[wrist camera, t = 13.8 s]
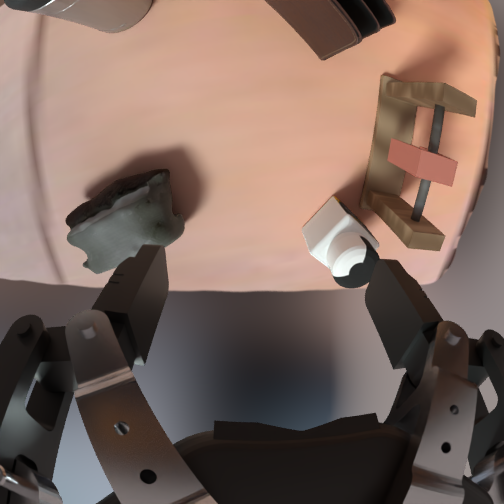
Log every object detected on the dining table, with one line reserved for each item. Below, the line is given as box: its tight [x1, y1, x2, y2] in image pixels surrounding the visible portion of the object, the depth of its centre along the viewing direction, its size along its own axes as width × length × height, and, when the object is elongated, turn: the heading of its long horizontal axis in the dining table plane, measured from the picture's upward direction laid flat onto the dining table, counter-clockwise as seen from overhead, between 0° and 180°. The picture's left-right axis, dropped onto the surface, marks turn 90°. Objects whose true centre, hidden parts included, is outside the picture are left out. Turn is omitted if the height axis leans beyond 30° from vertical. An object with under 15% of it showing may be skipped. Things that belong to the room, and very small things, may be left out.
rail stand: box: [359, 75, 477, 251], centre depth 27 cm, size 20×6×14 cm, turn 176°
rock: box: [66, 169, 185, 274], centre depth 35 cm, size 18×11×8 cm, turn 111°
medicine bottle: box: [302, 196, 380, 288], centre depth 35 cm, size 7×7×12 cm
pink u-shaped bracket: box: [387, 138, 458, 187], centre depth 26 cm, size 3×6×7 cm, turn 86°
